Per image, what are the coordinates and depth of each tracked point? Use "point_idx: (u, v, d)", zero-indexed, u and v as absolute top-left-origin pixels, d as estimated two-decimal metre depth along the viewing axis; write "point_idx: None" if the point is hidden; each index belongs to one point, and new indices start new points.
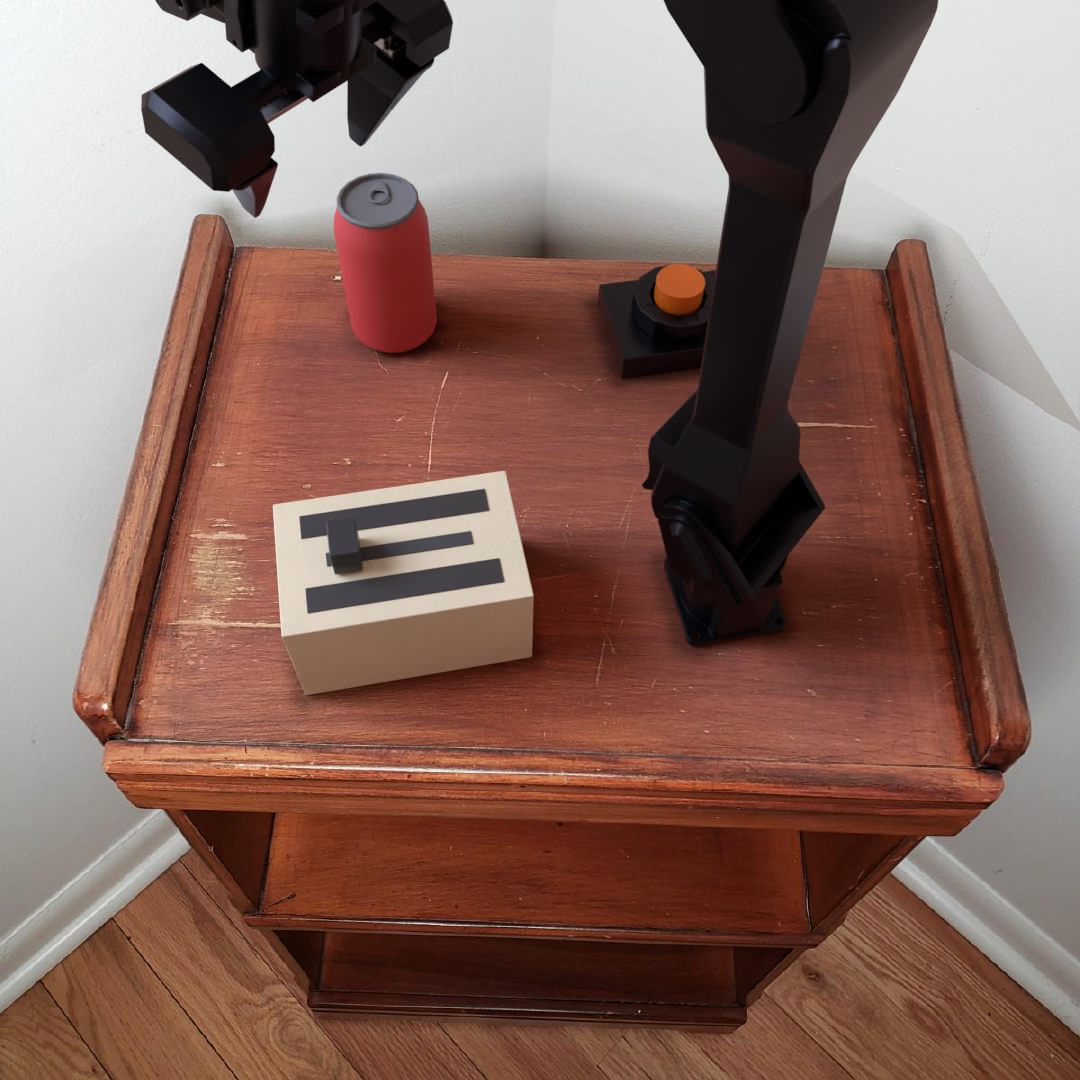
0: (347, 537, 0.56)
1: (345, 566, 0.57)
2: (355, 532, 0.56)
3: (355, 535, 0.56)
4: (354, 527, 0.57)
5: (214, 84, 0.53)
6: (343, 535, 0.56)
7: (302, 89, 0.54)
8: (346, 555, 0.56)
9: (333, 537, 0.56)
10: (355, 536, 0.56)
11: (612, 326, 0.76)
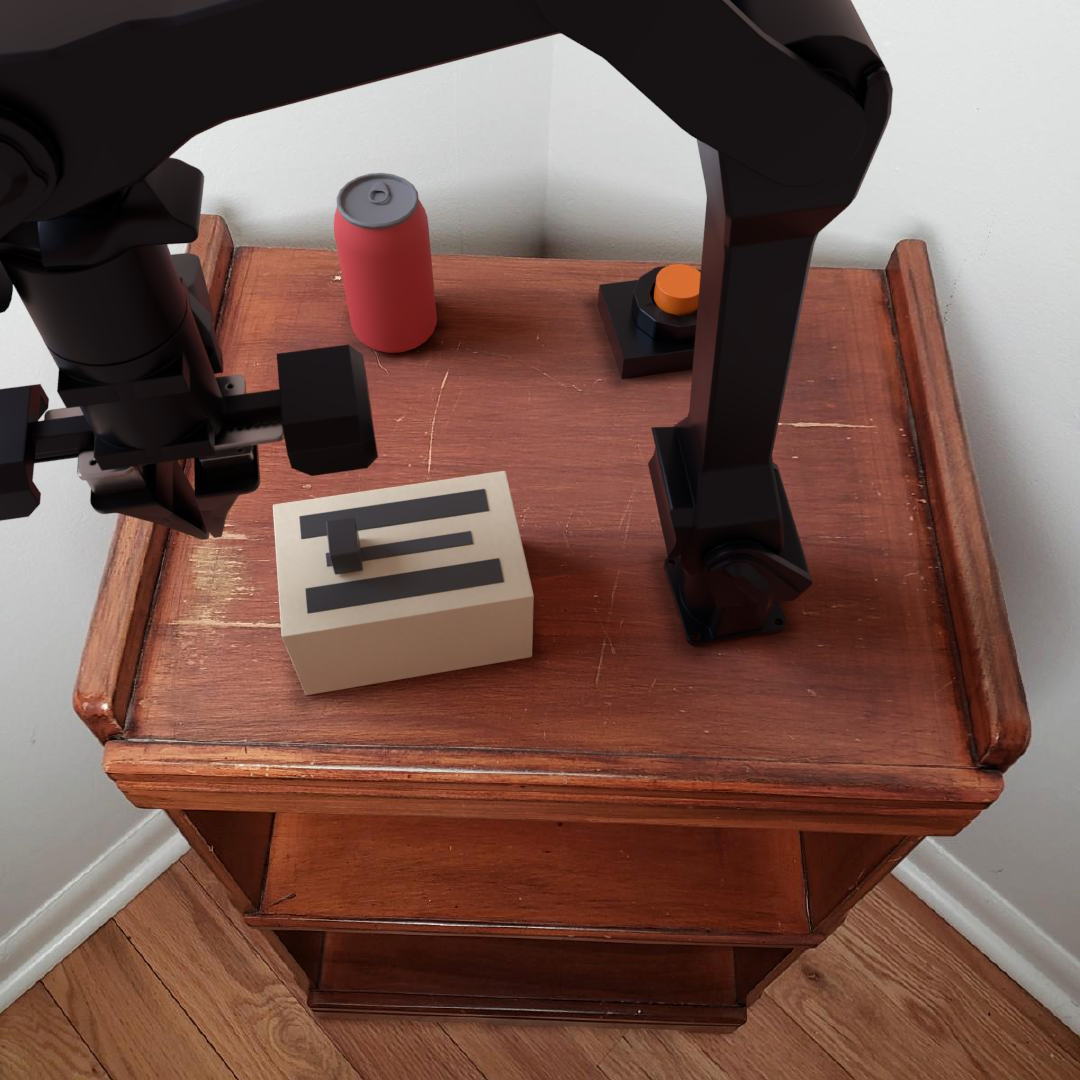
0: (347, 537, 0.56)
1: (345, 566, 0.57)
2: (355, 532, 0.56)
3: (355, 535, 0.56)
4: (354, 527, 0.57)
5: (15, 412, 0.45)
6: (343, 535, 0.56)
7: None
8: (346, 555, 0.56)
9: (333, 537, 0.56)
10: (355, 536, 0.56)
11: (612, 326, 0.76)
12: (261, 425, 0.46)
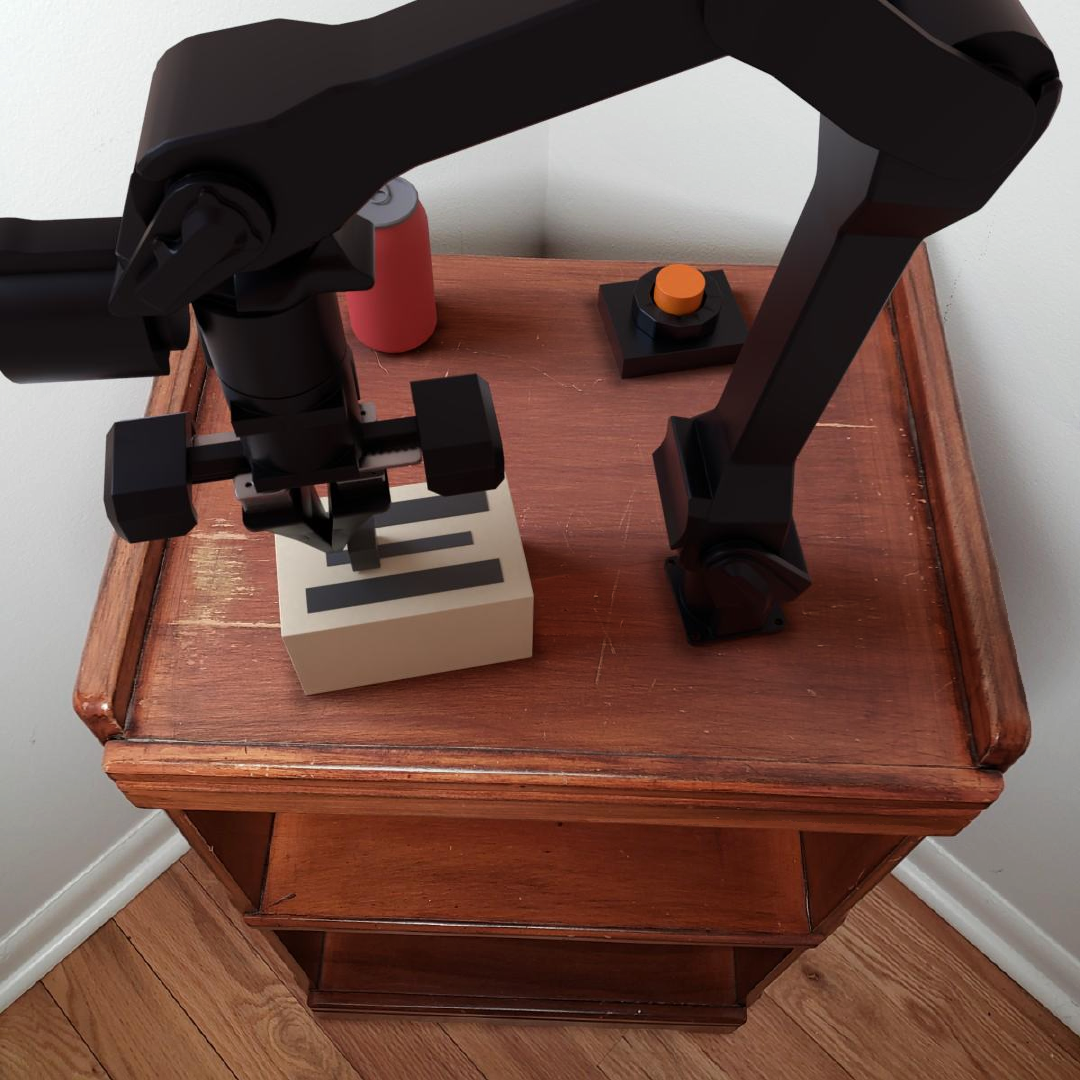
0: (365, 534, 0.56)
1: (363, 563, 0.57)
2: (373, 529, 0.57)
3: (373, 532, 0.56)
4: (372, 524, 0.57)
5: (173, 438, 0.48)
6: (361, 532, 0.56)
7: None
8: (364, 552, 0.56)
9: None
10: (373, 533, 0.56)
11: (612, 326, 0.76)
12: (401, 449, 0.50)
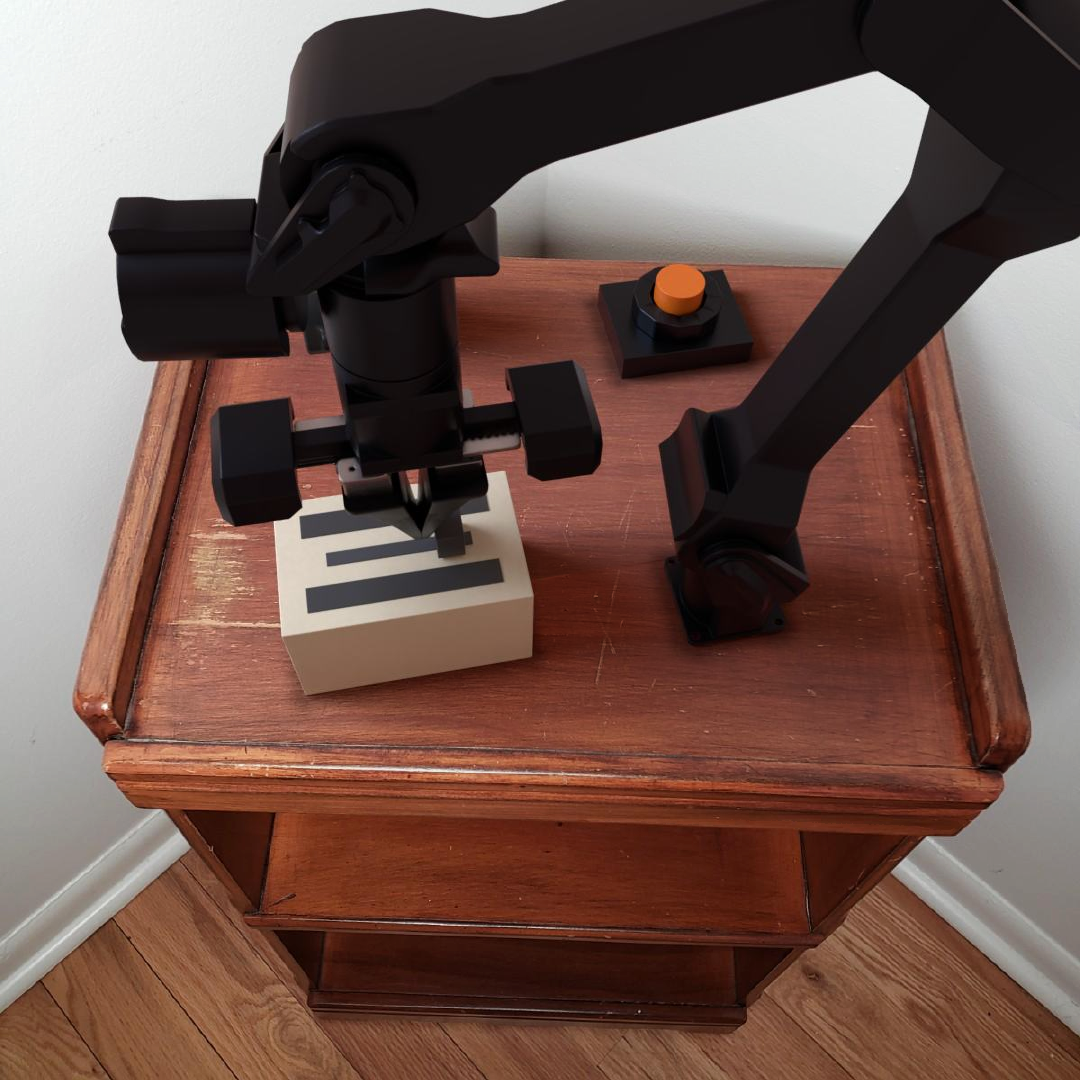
0: (452, 521, 0.57)
1: (449, 550, 0.57)
2: (460, 516, 0.57)
3: (460, 519, 0.57)
4: (458, 511, 0.57)
5: (278, 422, 0.49)
6: (448, 519, 0.57)
7: None
8: (452, 539, 0.56)
9: None
10: (460, 520, 0.57)
11: (612, 326, 0.76)
12: (500, 434, 0.50)
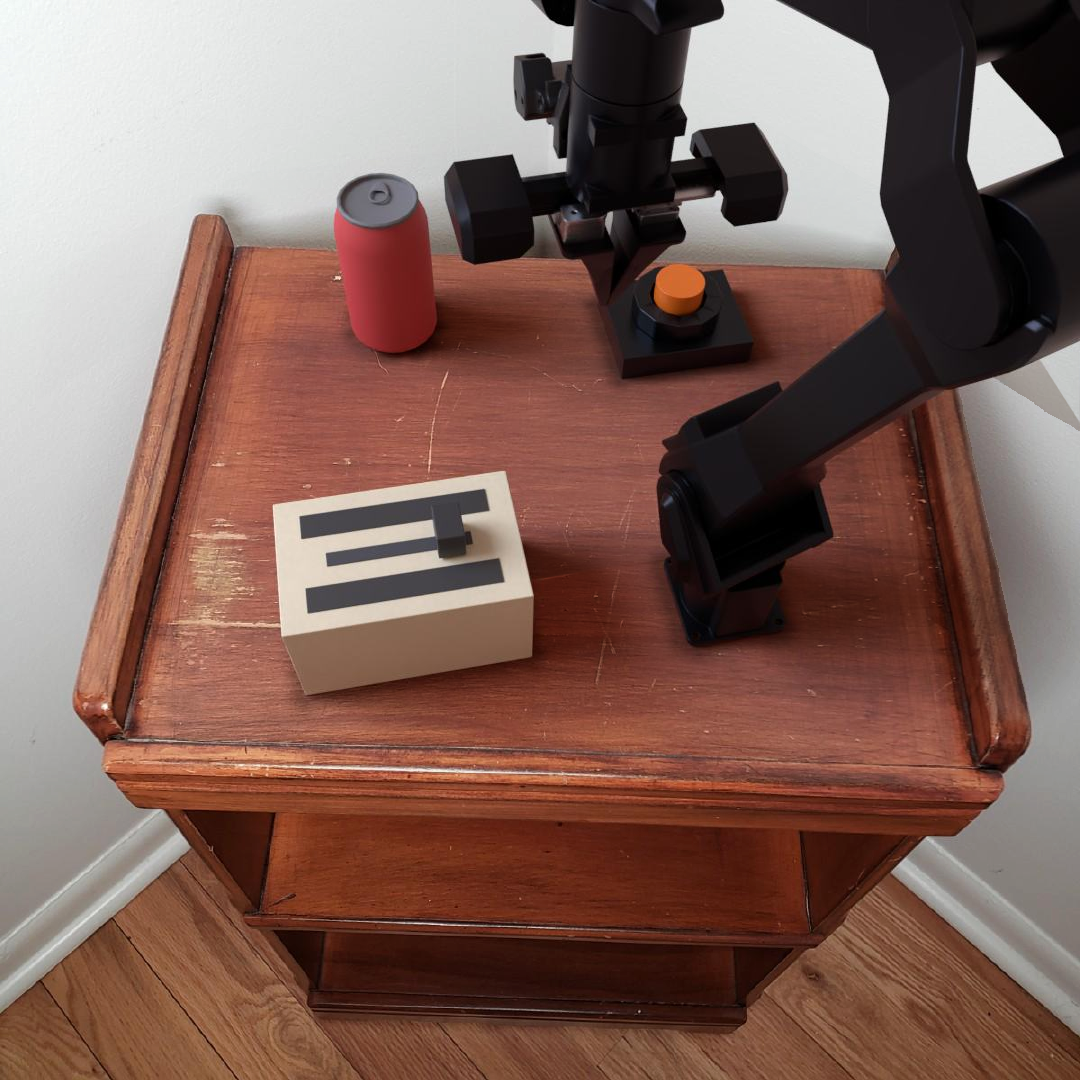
0: (453, 521, 0.57)
1: (450, 550, 0.57)
2: (460, 516, 0.57)
3: (460, 519, 0.57)
4: (459, 511, 0.57)
5: (509, 172, 0.55)
6: (449, 519, 0.57)
7: (585, 200, 0.55)
8: (452, 539, 0.56)
9: (439, 521, 0.57)
10: (461, 520, 0.57)
11: (612, 326, 0.76)
12: (696, 184, 0.57)
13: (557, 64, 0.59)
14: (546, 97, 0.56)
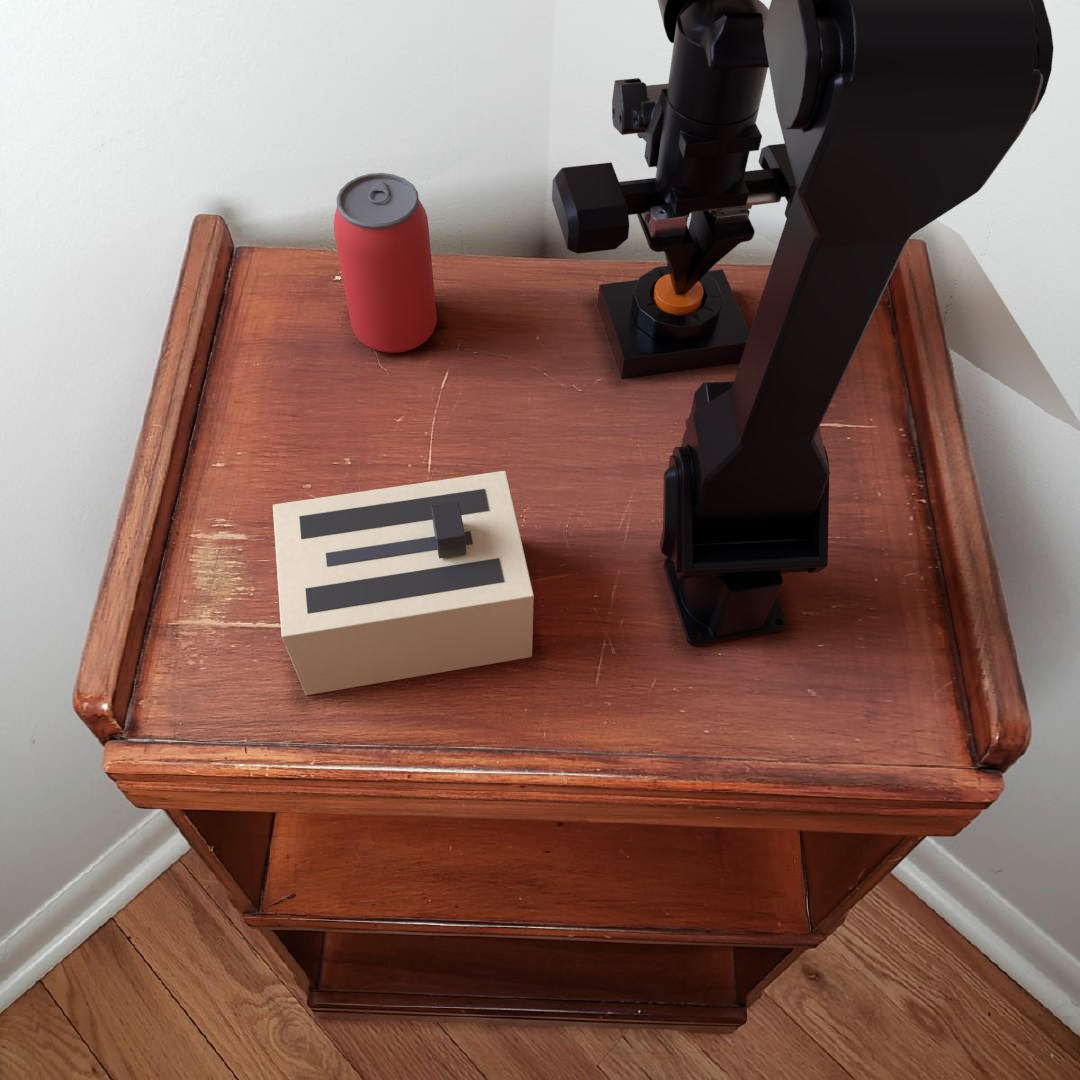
0: (453, 521, 0.57)
1: (450, 550, 0.57)
2: (460, 516, 0.57)
3: (460, 519, 0.57)
4: (459, 511, 0.57)
5: (608, 177, 0.66)
6: (449, 519, 0.57)
7: (672, 202, 0.65)
8: (452, 539, 0.56)
9: (439, 521, 0.57)
10: (461, 520, 0.57)
11: (612, 326, 0.76)
12: (765, 191, 0.68)
13: (649, 87, 0.70)
14: (641, 115, 0.67)
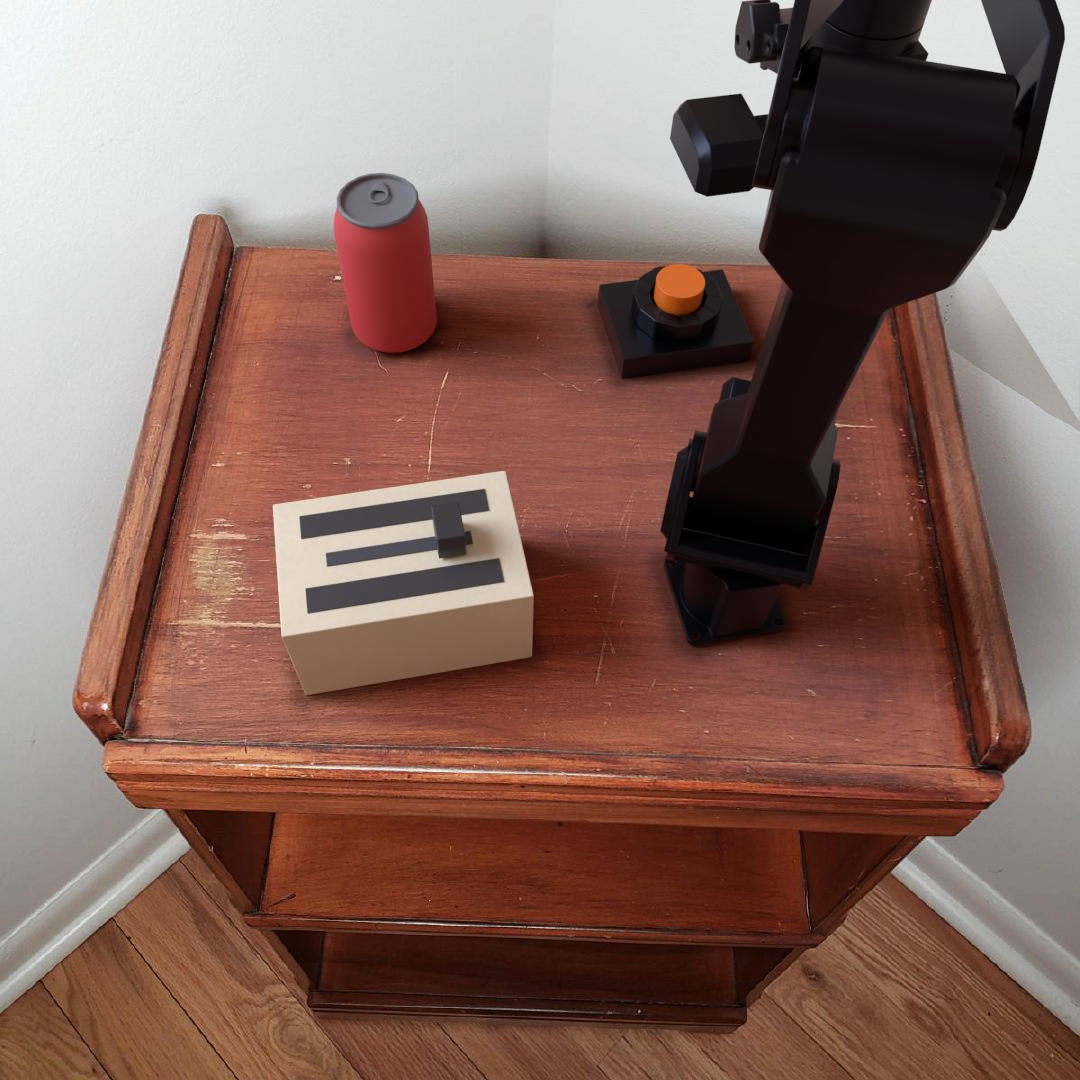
0: (453, 521, 0.57)
1: (450, 550, 0.57)
2: (460, 516, 0.57)
3: (460, 519, 0.57)
4: (459, 511, 0.57)
5: (740, 109, 0.58)
6: (449, 519, 0.57)
7: None
8: (452, 539, 0.56)
9: (439, 521, 0.57)
10: (461, 520, 0.57)
11: (612, 326, 0.76)
12: None
13: None
14: (774, 39, 0.59)
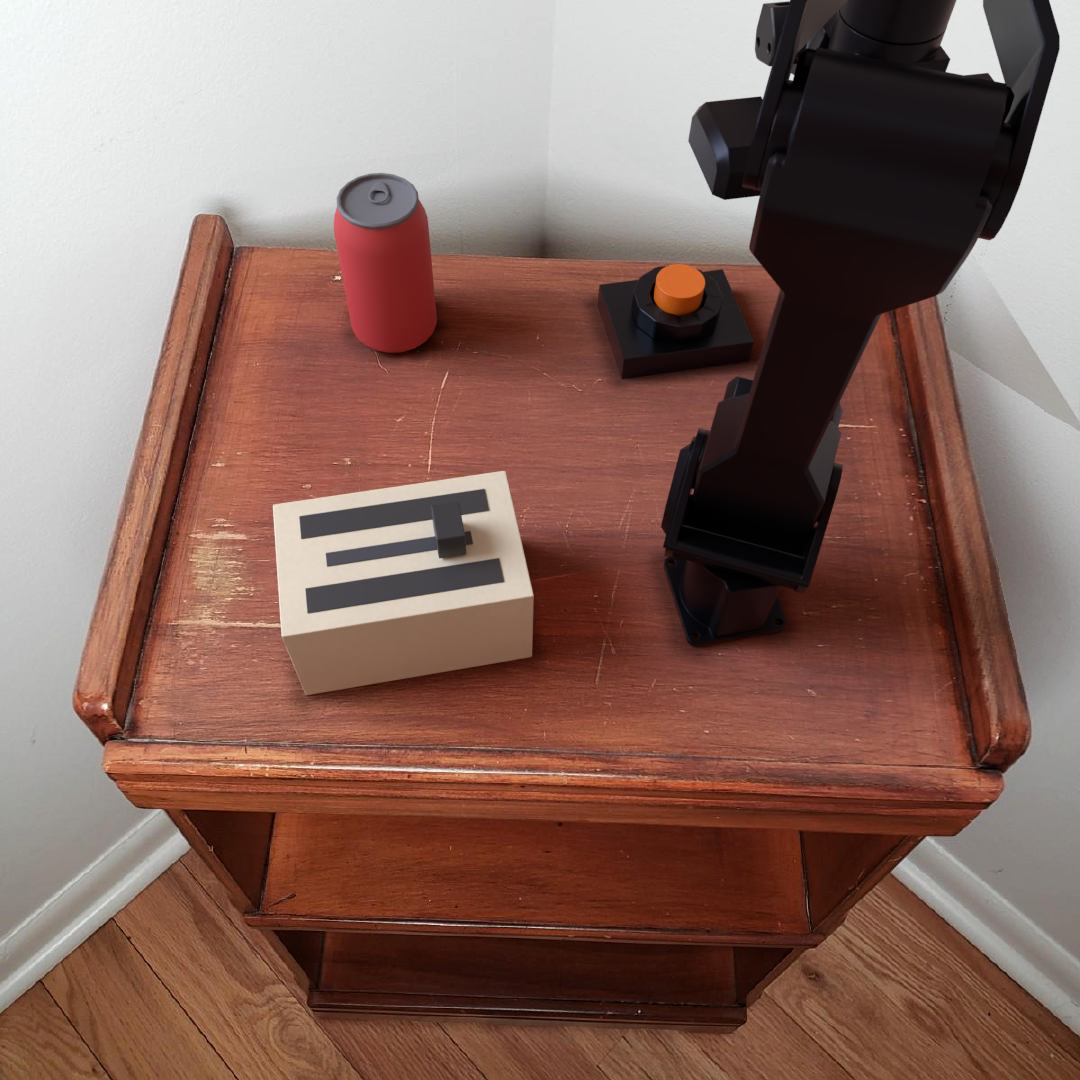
0: (453, 521, 0.57)
1: (450, 550, 0.57)
2: (460, 516, 0.57)
3: (460, 519, 0.57)
4: (459, 511, 0.57)
5: None
6: (449, 519, 0.57)
7: None
8: (452, 539, 0.56)
9: (439, 521, 0.57)
10: (461, 520, 0.57)
11: (612, 326, 0.76)
12: None
13: None
14: None
